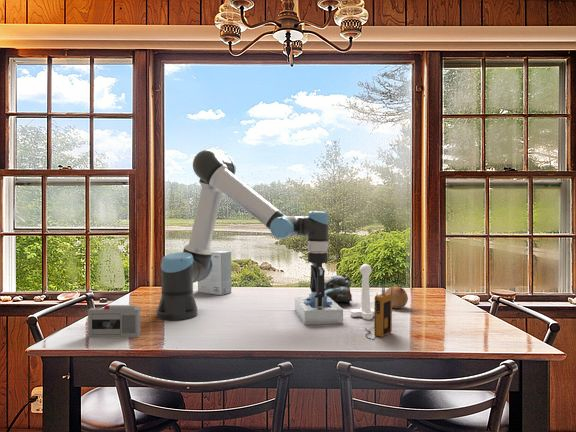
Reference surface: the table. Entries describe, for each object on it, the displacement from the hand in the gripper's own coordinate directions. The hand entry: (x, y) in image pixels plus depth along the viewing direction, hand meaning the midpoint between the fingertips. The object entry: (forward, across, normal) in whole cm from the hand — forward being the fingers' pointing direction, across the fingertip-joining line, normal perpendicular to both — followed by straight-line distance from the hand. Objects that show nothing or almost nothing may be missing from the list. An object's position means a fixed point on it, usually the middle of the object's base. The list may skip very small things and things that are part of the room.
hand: (316, 311), depth 164 cm
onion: (+2, +9, -35) cm, 36 cm away
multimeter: (+2, -23, -14) cm, 27 cm away
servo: (+2, 0, 0) cm, 2 cm away
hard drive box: (+3, +50, +40) cm, 64 cm away
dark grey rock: (+2, +21, -13) cm, 25 cm away
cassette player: (+3, -16, +70) cm, 72 cm away
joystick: (+2, -4, -18) cm, 19 cm away
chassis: (+2, 0, 0) cm, 2 cm away
